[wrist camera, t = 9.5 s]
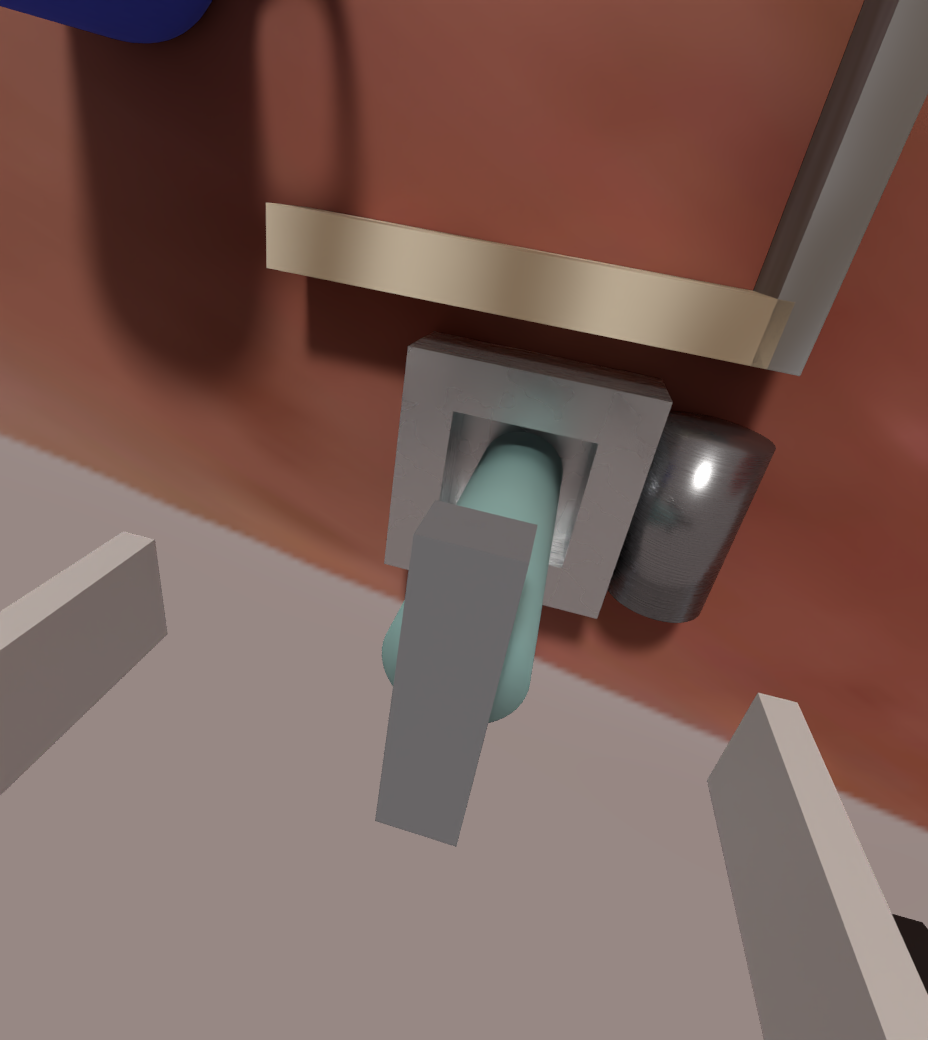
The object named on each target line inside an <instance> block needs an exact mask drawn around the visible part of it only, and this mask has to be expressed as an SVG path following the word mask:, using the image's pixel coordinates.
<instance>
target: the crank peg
mask: <svg viewBox="0 0 928 1040" xmlns="http://www.w3.org/2000/svg"><path fill="white" fill-rule="evenodd" d="M562 476H563V468H562V463H561V459H560V457H559V455H558V453H557V451H556V450H555V448H554V447H553V446H552V445H551V444H550V443H549V442H548V441H546V440H545V439H543V438H542V437H540V436H538V435H535V434H532V433H528V432H512V433H508V434H505V435H502V436H500V437H499V438H497V439H496V440H494V441H493V442H492V443H491V444H490V445H489V446H488V447H487V449H486V450H485V452H484V454H483V456H482V458H481V459H480V461H479V463H478V465H477V467H476V469H475V471H474V472H473V474H472V476H471V478H470V480H469V482H468V484H467V485H466V487H465V489H464V491H463V493H462V495H461V496H460V498H459V500H458V502H457V504H456V505H454V504H450V503H446V502H442V501H438V500H435V501H434V502H433V504H432V505H431V507H430V509H429V510H428V512H427V513H426V515H425V517H424V518H423V520H422V521H421V523H420V524H419V526H418V528H417V529H416V531H415V532H414V535H413V542H412V550H411V557H410V565H409V572H408V580H407V587H406V595H405V600H404V602H403V604H402V606H401V608H400V610H399V611H398V613H397V615H396V617H395V619H394V621H393V622H392V624H391V626H390V628H389V630H388V632H387V634H386V636H385V639H384V641H383V646H382V660H383V666H384V669H385V672H386V674H387V677H388V679H389V680H390V682H391V684H392V685H393V693H392V700H391V707H390V714H389V723H388V730H387V737H386V744H385V752H384V760H383V767H382V774H381V782H380V789H379V797H378V804H377V811H376V819H375V821H378V822H381V823H384V824H387V825H390V826H393V827H396V828H399V829H402V830H406V831H409V832H412V833H415V834H418V835H422V836H425V837H428V838H431V839H434V840H437V841H440V842H443V843H447V844H450V845H453V846H457V842H458V838H459V834H460V830H461V826H462V822H463V818H464V815H465V811H466V807H467V803H468V799H469V795H470V791H471V787H472V784H473V780H474V776H475V772H476V768H477V764H478V760H479V756H480V753H481V748H482V745H483V741H484V737H485V733H486V729H487V725H488V723H490V722H494V721H497V720H499V719H502V718H504V717H506V716H507V715H509V714H511V713H512V712H513V711H514V710H516V709H517V708H518V707H519V705H520V704H521V703H522V702H523V700H524V699H525V697H526V694H527V692H528V690H529V685H530V680H531V674H532V667H533V661H534V654H535V648H536V642H537V635H538V629H539V623H540V616H541V610H542V604H543V597H544V591H545V584H546V578H547V572H548V565H549V559H550V553H551V546H552V540H553V534H554V527H555V521H556V514H557V508H558V502H559V495H560V489H561V483H562Z"/></svg>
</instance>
